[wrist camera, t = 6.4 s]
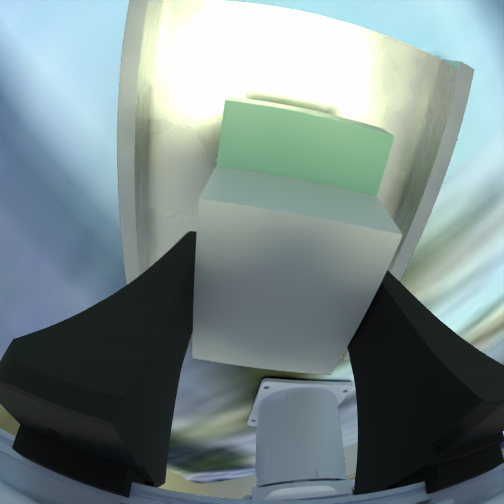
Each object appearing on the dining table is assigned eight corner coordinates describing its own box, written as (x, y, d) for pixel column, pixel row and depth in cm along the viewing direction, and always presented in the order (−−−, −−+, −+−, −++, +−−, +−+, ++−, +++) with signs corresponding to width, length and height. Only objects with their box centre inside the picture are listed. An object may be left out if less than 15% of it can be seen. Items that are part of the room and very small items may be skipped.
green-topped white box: (309, 336, 14) (314, 400, 12) (206, 322, 14) (192, 385, 11) (381, 128, 9) (430, 161, 6) (230, 96, 9) (207, 111, 6)
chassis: (347, 333, 20) (356, 371, 18) (145, 307, 20) (130, 345, 17) (446, 65, 10) (486, 71, 8) (150, 3, 10) (120, -10, 7)
